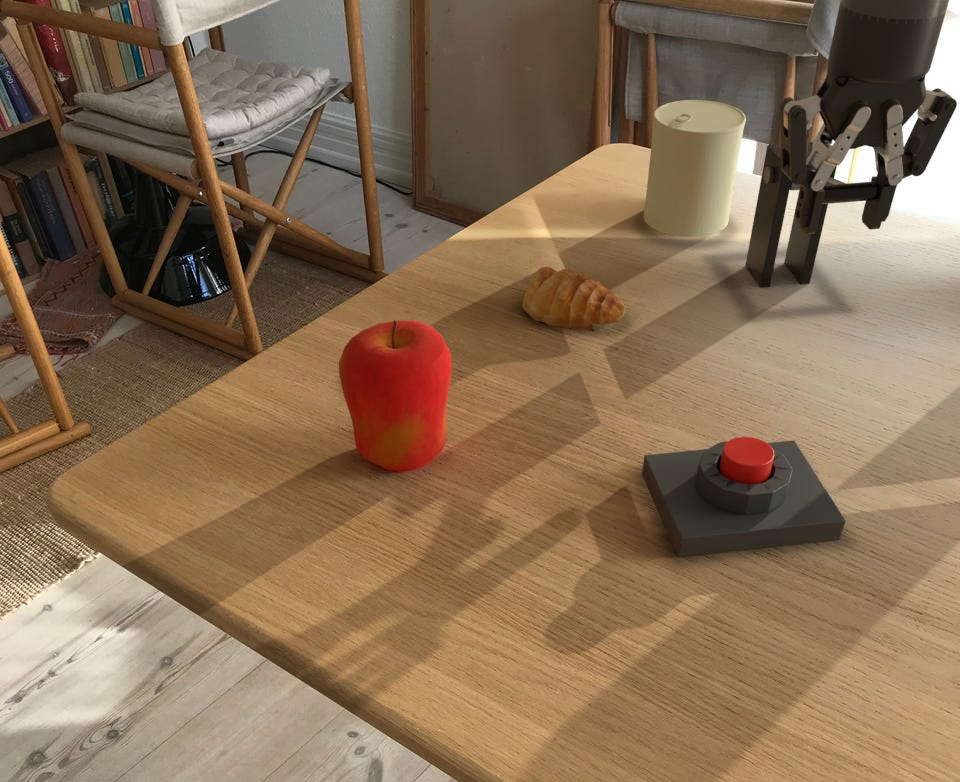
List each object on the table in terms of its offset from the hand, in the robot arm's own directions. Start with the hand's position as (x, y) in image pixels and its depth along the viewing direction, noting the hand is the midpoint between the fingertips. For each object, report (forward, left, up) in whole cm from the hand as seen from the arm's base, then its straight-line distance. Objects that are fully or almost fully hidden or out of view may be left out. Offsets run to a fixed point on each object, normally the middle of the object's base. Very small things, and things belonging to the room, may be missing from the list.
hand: (838, 227), depth 88 cm
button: (+15, +23, -7) cm, 28 cm away
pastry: (+21, -8, -11) cm, 25 cm away
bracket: (0, -10, -10) cm, 14 cm away
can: (+5, -24, -11) cm, 26 cm away
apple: (+39, +12, -11) cm, 42 cm away
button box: (+15, +23, -10) cm, 29 cm away
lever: (0, -5, +1) cm, 5 cm away
